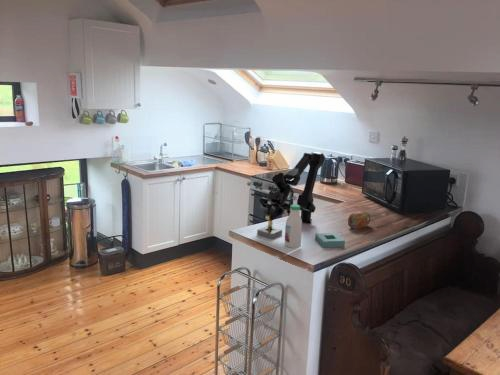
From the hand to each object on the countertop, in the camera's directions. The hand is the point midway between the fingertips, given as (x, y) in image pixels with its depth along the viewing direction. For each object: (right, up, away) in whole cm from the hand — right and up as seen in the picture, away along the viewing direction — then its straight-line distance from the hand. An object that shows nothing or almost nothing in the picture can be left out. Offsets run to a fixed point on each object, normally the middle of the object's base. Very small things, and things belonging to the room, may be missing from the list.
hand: (268, 219), depth 215 cm
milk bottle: (+11, -12, -9) cm, 18 cm away
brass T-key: (+1, -8, +3) cm, 8 cm away
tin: (+50, -6, +22) cm, 55 cm away
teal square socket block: (+30, -11, -3) cm, 32 cm away
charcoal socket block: (0, -8, +3) cm, 9 cm away
